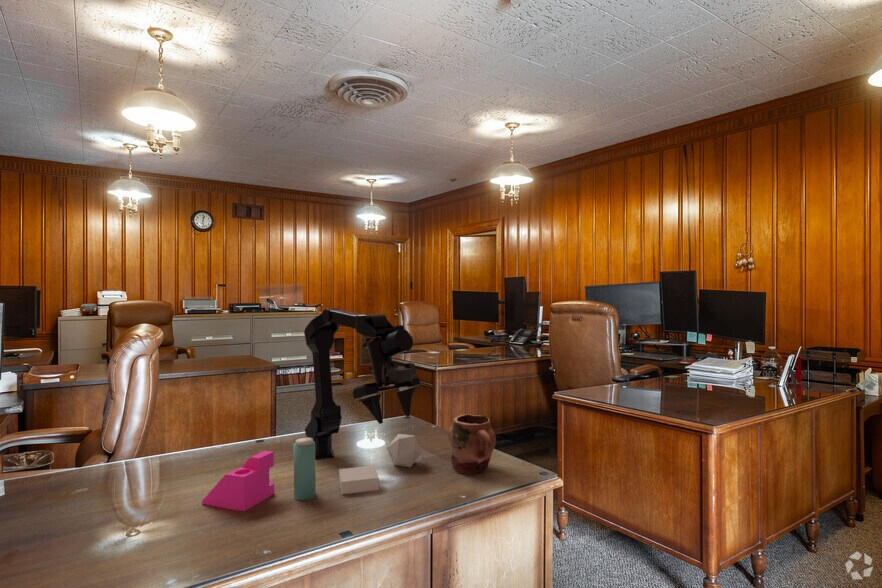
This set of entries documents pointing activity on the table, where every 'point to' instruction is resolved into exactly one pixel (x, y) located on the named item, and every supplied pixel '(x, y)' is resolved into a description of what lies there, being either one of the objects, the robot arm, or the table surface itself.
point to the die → (404, 450)
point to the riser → (358, 479)
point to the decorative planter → (471, 443)
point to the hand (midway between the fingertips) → (394, 420)
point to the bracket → (244, 484)
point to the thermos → (304, 469)
